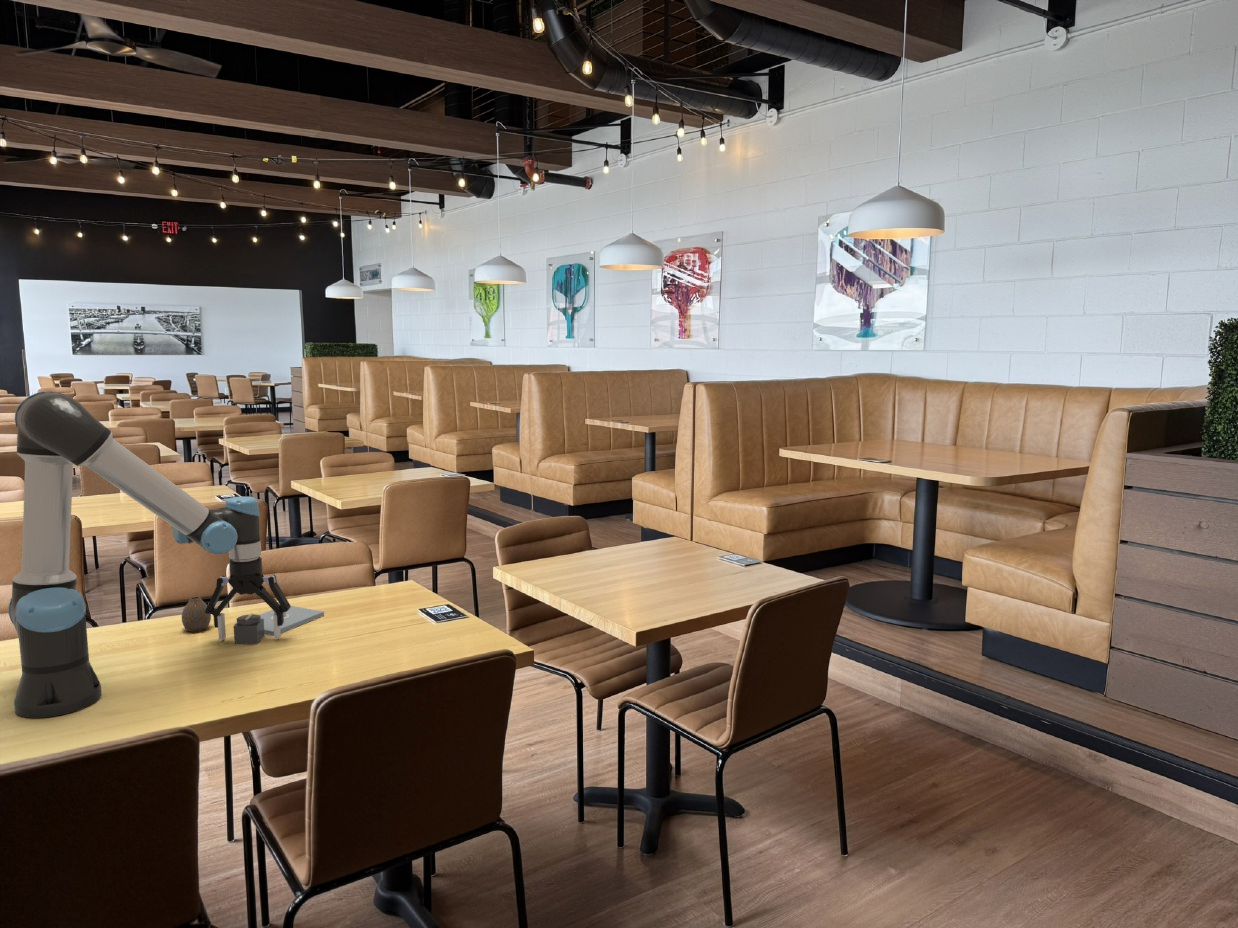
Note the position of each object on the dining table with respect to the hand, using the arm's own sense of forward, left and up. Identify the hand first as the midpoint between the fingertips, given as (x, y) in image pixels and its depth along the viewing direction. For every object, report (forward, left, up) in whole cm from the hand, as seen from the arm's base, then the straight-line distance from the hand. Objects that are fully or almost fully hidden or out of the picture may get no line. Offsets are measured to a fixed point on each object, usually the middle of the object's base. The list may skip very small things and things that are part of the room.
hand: (250, 638), depth 210 cm
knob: (0, 0, 0) cm, 0 cm away
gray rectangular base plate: (+14, +4, 0) cm, 15 cm away
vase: (0, +19, -1) cm, 19 cm away
